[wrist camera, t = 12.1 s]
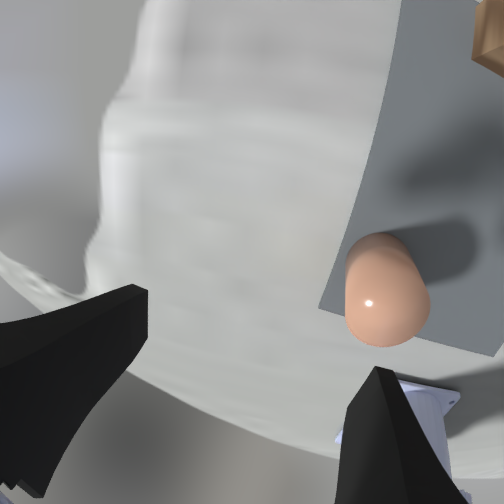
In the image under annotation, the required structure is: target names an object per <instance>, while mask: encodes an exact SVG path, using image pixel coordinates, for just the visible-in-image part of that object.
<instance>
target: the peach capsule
mask: <svg viewBox="0 0 504 504" xmlns="http://www.w3.org/2000/svg"><path fill="white" fill-rule="evenodd" d="M430 306H431V303H430V297H429V293H428V291H427V289H426V287H425V284H424V282H423V280H422V278H421V276H420V274H419V271H418V269H417V267H416V265H415V263H414V261H413V259H412V257H411V255H410V253H409V251H408V249H407V247H406V246H405V244H404V243H403V242H402V241H401V240H400V239H398V238H397V237H395V236H393V235H391V234H387V233H372V234H369V235H366V236H364V237H362V238H360V239H359V240H358V241H357V242H356V243H355V244H354V245H353V246H352V247H351V249H350V250H349V252H348V254H347V257H346V262H345V319H346V323H347V326H348V328H349V330H350V331H351V333H352V334H353V335H354V336H355V337H356V338H357V339H358V340H360V341H362V342H363V343H366V344H368V345H371V346H376V347H390V346H395V345H398V344H401V343H404V342H406V341H408V340H409V339H411V338H412V337H414V336H415V335H416V334H417V333H418V332H419V331H420V330H421V329H422V328H423V326H424V325H425V323H426V321H427V319H428V316H429V313H430Z"/></svg>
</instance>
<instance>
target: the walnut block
mask: <svg viewBox="0 0 504 504" xmlns="http://www.w3.org/2000/svg"><path fill="white" fill-rule="evenodd" d="M471 60H473V61H474V62H476V63H478V64H480V65H482V66H484V67H485V68H487V69H489V70H491V71H492V72H494V73H496V74H497V75H499V76H501V77H502V78H504V0H483V1H482V2H481V3H480V4H478V5H477V6H476V8H475V27H474V39H473V49H472V57H471Z"/></svg>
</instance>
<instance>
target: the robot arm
mask: <svg viewBox="0 0 504 504" xmlns="http://www.w3.org/2000/svg"><path fill="white" fill-rule="evenodd" d="M147 338H148V290H146V289H144V288H141V287H139V286H137V285H134V284H130V285H127V286H124V287H121V288H118V289H115V290H112V291H109V292H107V293H104V294H101V295H99V296H96V297H93V298H90V299H88V300H85V301H82V302H79V303H77V304H74V305H71V306H68V307H65V308H61V309H58V310H55V311H52V312H49V313H46V314H42V315H39V316H35V317H31V318H27V319H22V320H17V321H12V322H7V323H0V485H1V484H2V483H4V484H5V485H6V486H7V487H8V488H9V489H10V490H12V489H13V488H14V487H15V486H16V484H17V485H18V486H19V487H20V488H22V489H23V490H24V491H25V492H27V493H28V494H29V495H30V496H32V497H33V498H43V497H44V495H45V492H46V490H47V487H48V485H49V483H50V480H51V478H52V476H53V473H54V471H55V469H56V467H57V465H58V463H59V462H60V460H61V458H62V456H63V454H64V452H65V450H66V449H67V447H68V445H69V443H70V442H71V440H72V438H73V436H74V435H75V433H76V432H77V430H78V428H79V427H80V426H81V424H82V422H83V421H84V419H85V418H86V416H87V415H88V413H89V412H90V411H91V409H92V408H93V407H94V406H95V404H96V403H97V402H98V401H99V400H100V399H101V397H102V396H103V395H104V394H105V393H106V392H107V390H108V389H109V388H110V387H111V386H112V385H113V384H114V382H115V381H116V380H117V379H118V378H119V377H120V376H121V374H122V373H123V372H124V371H125V370H126V369H127V367H128V366H129V365H130V364H131V363H132V361H133V360H134V359H135V357H136V356H137V354H138V353H139V351H140V350H141V348H142V346H143V345H144V343H145V342H146V340H147ZM460 397H461V395H460V393H459V392H457V391H451V390H446V389H441V388H435V387H430V386H425V385H421V384H416V383H411V382H407V381H402V380H398V379H397V377H396V375H395V373H394V372H393V370H390V369H385V368H381V367H378V366H375V367H374V368H373V370H372V371H371V373H370V375H369V376H368V378H367V379H366V381H365V382H364V384H363V385H362V387H361V388H360V390H359V391H358V393H357V394H356V395H355V397H354V398H353V400H352V401H351V403H350V404H349V405H348V407H347V412H346V417H345V422H344V427H343V429H342V430H341V432H340V433H339V434H338V435H337V437H336V438H335V442H336V443H338V444H341V452H340V463H339V473H338V483H337V491H336V498H335V503H334V504H472V497H471V494H470V493H468V492H465V491H464V490H458V489H457V487H456V486H455V484H454V483H453V481H452V475H451V466H450V458H449V451H448V444H447V437H446V431H445V425H444V420H443V417H444V416H445V415H446V413H447V412H448V411H449V410H450V409H451V408H452V407H453V406H454V405H455V403H456V402H457V401H458V400H459V399H460ZM0 504H13V503H12V502H11V501H10V500H9V499H8V498H7V497H6V496H5V495H4V494H3V493H2V492H1V491H0Z"/></svg>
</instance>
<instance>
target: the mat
mask: <svg viewBox="0 0 504 504" xmlns="http://www.w3.org/2000/svg"><path fill="white" fill-rule="evenodd" d="M478 4H480V3H478V2H477V1H475V0H402V2H401V9H400V16H399V22H398V28H397V34H396V40H395V45H394V51H393V56H392V61H391V66H390V71H389V76H388V80H387V85H386V89H385V94H384V98H383V102H382V107H381V111H380V115H379V119H378V123H377V127H376V131H375V135H374V138H373V142H372V146H371V150H370V153H369V157H368V160H367V164H366V167H365V171H364V174H363V178H362V181H361V184H360V188H359V191H358V194H357V198H356V201H355V204H354V207H353V210H352V213H351V217H350V220H349V223H348V226H347V229H346V232H345V235H344V238H343V241H342V243H341V246H340V249H339V252H338V255H337V258H336V261H335V263H334V266H333V269H332V272H331V274H330V277H329V280H328V282H327V285H326V288H325V290H324V293H323V296H322V298H321V301H320V303H319V307H318V308H319V309H322V310H326V311H329V312H332V313H335V314H339V315H342V316H345V262H346V257H347V254H348V252H349V250H350V249H351V247H352V246H353V245H354V244H355V243H356V242H357V241H358V240H359V239H360V238H362V237H364V236H366V235H369V234H372V233H387V234H391V235H393V236H395V237H397V238H398V239H400V240H401V241H402V242H403V243H404V244H405V246H406V247H407V249H408V251H409V253H410V255H411V257H412V259H413V261H414V263H415V265H416V267H417V269H418V271H419V274H420V276H421V278H422V280H423V282H424V284H425V287H426V289H427V291H428V293H429V297H430V303H431V306H430V313H429V316H428V319H427V321H426V323H425V325H424V326H423V328H422V329H421V330H420V331H419V332H418V333H417V334H416V335H415V337H418V338H422V339H425V340H429V341H433V342H437V343H440V344H444V345H448V346H452V347H455V348H459V349H463V350H467V351H471V352H475V353H479V354H483V355H487V356H491V357H494V356H495V354H496V353H497V351H498V350H499V348H500V347H501V345H502V344H503V342H504V78H502V77H501V76H499V75H497V74H496V73H494V72H492V71H491V70H489V69H487V68H485V67H484V66H482V65H480V64H478V63H476V62H474V61H473V60H471V57H472V49H473V39H474V27H475V8H476V6H477V5H478Z"/></svg>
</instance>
